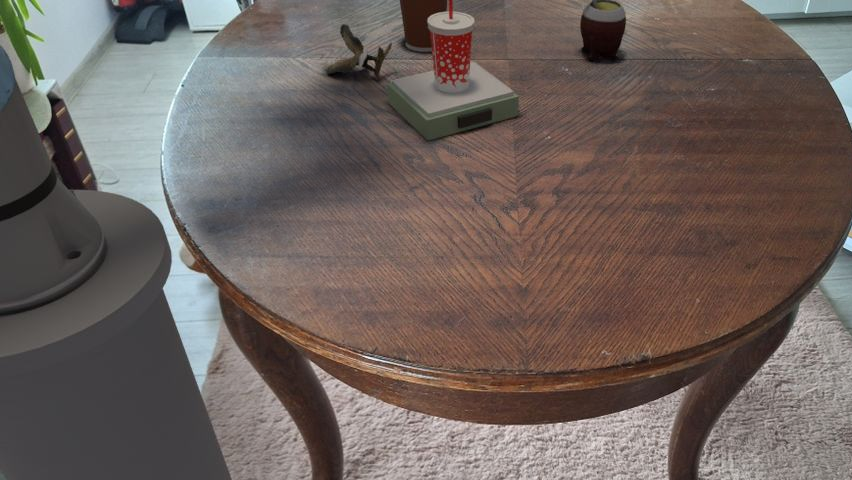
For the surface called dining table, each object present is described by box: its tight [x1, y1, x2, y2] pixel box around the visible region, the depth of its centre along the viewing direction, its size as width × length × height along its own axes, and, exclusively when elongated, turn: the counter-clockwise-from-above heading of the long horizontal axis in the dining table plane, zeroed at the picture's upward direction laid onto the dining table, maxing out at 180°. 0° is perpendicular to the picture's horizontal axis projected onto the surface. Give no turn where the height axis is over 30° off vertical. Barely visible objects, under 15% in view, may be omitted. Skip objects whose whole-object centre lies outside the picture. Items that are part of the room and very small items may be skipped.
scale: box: [386, 60, 520, 141], centre depth 101 cm, size 14×12×4 cm
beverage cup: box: [427, 0, 475, 93], centre depth 96 cm, size 6×6×14 cm
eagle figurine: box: [326, 23, 393, 81], centre depth 109 cm, size 8×7×9 cm
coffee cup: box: [399, 0, 448, 53], centre depth 116 cm, size 9×9×12 cm
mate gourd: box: [579, 0, 627, 63], centre depth 113 cm, size 8×8×15 cm
